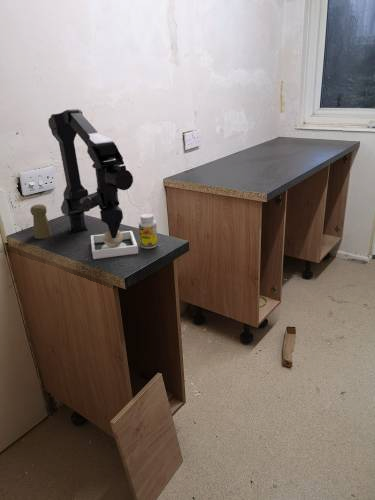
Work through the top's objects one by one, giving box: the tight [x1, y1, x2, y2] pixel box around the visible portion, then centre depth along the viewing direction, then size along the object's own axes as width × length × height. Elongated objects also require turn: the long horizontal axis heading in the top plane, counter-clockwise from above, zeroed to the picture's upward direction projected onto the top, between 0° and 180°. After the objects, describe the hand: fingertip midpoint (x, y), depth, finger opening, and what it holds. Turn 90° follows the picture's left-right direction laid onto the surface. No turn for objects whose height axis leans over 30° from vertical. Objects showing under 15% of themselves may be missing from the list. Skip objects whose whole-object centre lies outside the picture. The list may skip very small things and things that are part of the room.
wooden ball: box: [103, 229, 124, 248], centre depth 126 cm, size 6×6×6 cm
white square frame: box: [90, 230, 139, 260], centre depth 127 cm, size 14×14×2 cm
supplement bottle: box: [138, 213, 158, 249], centre depth 126 cm, size 6×6×10 cm
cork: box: [30, 203, 53, 240], centre depth 137 cm, size 6×6×11 cm
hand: (112, 232), depth 125 cm, fingers open, 9 cm apart
